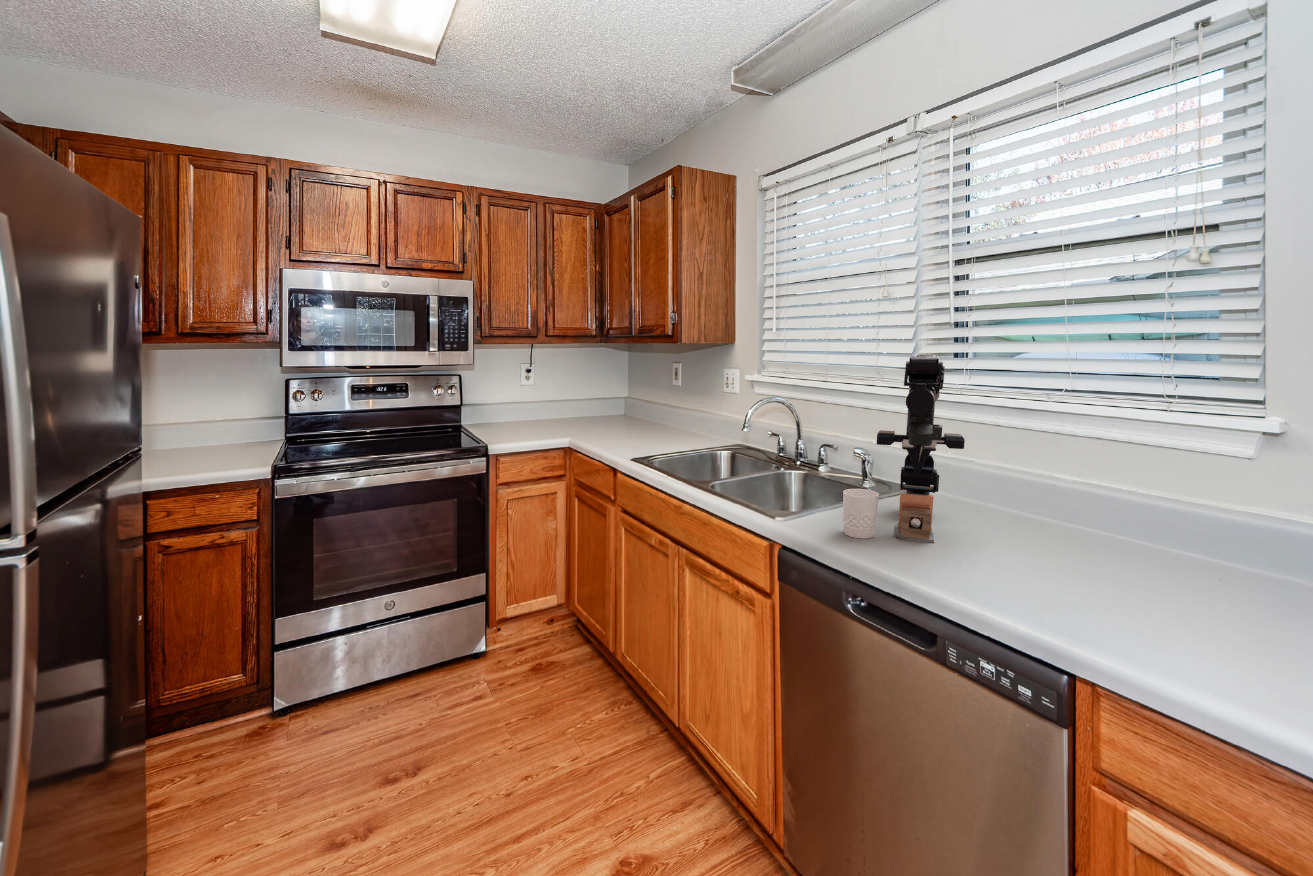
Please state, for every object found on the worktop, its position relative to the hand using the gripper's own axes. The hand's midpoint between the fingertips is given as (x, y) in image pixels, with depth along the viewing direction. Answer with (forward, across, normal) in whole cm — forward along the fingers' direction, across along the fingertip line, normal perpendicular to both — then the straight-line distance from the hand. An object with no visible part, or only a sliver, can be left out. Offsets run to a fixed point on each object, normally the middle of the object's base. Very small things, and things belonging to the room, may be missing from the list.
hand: (916, 474), depth 139 cm
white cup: (+13, -12, -10) cm, 20 cm away
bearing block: (+13, 0, -5) cm, 14 cm away
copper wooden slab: (+12, 0, -8) cm, 14 cm away
